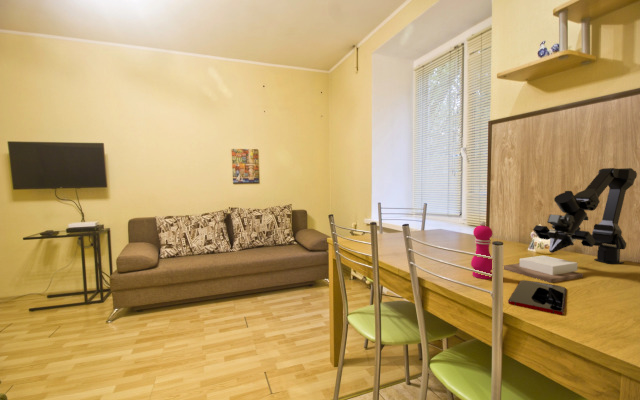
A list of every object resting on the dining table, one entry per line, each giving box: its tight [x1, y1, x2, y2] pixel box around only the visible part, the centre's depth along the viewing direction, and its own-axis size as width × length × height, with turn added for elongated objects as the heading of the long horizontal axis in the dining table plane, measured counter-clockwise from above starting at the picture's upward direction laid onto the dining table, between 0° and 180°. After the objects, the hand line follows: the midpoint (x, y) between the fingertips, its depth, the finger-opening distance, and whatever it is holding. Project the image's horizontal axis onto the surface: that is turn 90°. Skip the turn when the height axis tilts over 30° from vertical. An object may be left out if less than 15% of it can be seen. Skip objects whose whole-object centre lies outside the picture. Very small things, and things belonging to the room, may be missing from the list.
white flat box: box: [519, 255, 578, 275], centre depth 112 cm, size 3×12×13 cm
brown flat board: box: [503, 262, 584, 284], centre depth 111 cm, size 16×18×1 cm
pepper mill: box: [470, 220, 493, 280], centre depth 107 cm, size 7×7×20 cm
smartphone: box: [507, 279, 567, 316], centre depth 89 cm, size 12×2×25 cm
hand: (550, 252), depth 112 cm, fingers closed
